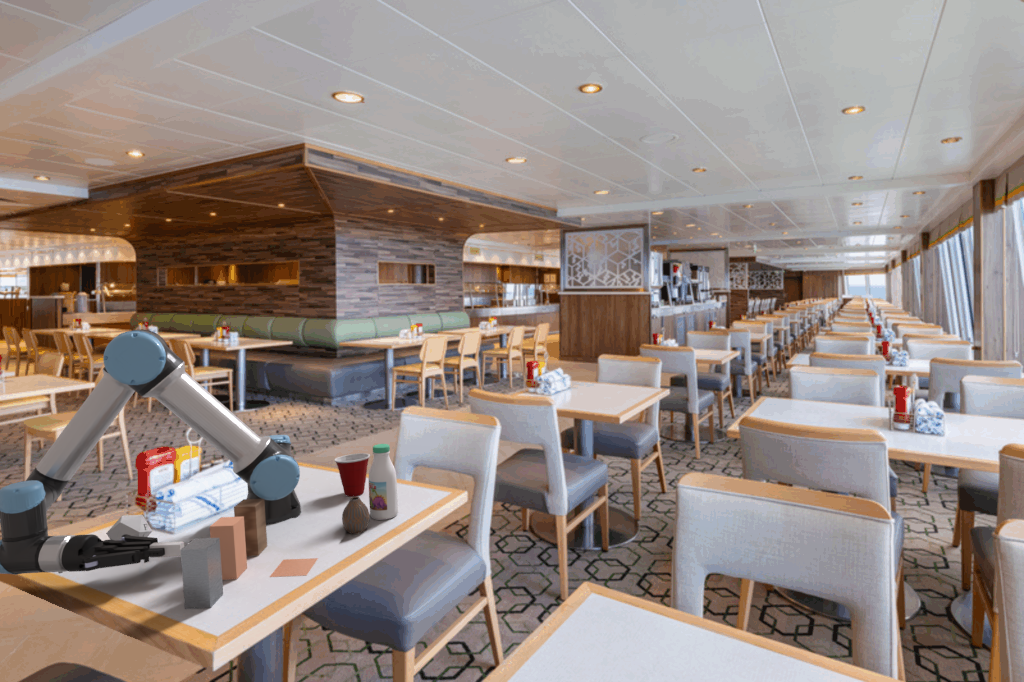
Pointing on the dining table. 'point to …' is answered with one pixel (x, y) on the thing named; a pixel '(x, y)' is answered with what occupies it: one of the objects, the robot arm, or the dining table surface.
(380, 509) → the milk bottle
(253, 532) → the walnut post
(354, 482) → the plastic cup
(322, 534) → the dining table surface
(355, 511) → the vase
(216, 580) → the grey post
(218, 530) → the terracotta post
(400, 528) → the dining table surface
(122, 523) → the die
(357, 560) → the dining table surface
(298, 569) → the terracotta coaster
